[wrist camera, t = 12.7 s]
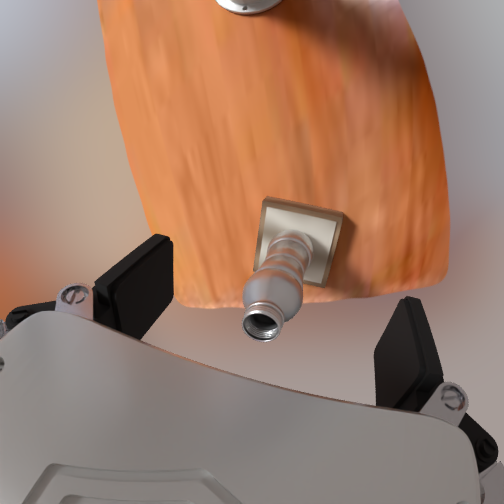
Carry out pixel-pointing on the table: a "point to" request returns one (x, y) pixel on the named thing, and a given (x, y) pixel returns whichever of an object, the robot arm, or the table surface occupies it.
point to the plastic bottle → (276, 286)
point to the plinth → (304, 220)
